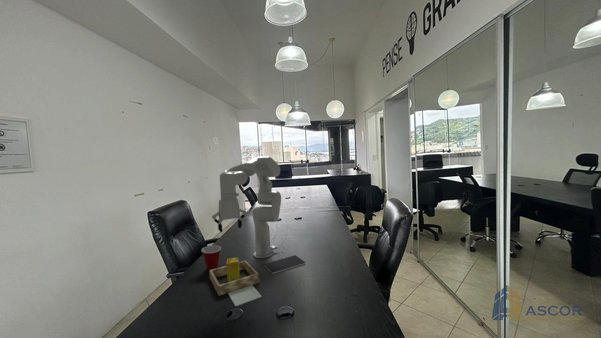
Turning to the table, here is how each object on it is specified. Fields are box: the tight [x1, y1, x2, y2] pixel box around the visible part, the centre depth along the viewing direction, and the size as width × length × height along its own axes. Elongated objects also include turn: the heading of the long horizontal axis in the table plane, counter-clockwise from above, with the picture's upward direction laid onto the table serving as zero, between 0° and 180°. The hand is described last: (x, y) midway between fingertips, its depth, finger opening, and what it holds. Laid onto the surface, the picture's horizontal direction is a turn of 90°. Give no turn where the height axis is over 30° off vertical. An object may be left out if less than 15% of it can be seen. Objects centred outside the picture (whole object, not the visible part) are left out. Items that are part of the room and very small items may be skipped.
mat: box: [227, 284, 262, 307], centre depth 112 cm, size 12×12×1 cm
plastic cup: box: [201, 244, 222, 271], centre depth 142 cm, size 11×11×12 cm
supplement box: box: [226, 256, 241, 283], centre depth 126 cm, size 6×6×11 cm
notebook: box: [263, 254, 306, 275], centre depth 142 cm, size 13×2×21 cm
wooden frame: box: [208, 260, 260, 297], centre depth 127 cm, size 20×20×4 cm
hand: (230, 229), depth 125 cm, fingers open, 9 cm apart
